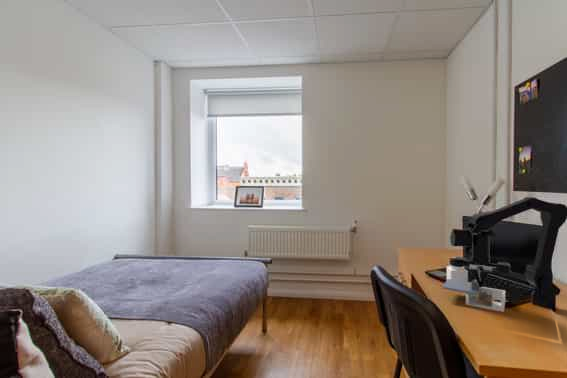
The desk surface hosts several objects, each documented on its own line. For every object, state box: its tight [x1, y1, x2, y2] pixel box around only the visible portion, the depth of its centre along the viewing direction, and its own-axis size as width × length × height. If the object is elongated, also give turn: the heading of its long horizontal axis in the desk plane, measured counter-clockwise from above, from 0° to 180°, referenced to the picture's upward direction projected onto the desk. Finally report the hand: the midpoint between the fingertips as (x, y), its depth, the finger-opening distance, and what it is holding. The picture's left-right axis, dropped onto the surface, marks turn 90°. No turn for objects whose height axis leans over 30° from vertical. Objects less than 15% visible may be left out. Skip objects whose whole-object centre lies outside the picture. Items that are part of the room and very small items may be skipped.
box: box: [465, 286, 506, 313], centre depth 124 cm, size 12×12×5 cm
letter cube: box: [479, 291, 492, 306], centre depth 123 cm, size 4×4×4 cm
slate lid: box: [441, 278, 480, 295], centre depth 128 cm, size 12×12×3 cm
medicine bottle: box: [446, 256, 469, 282], centre depth 148 cm, size 7×7×12 cm
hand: (480, 286), depth 124 cm, fingers closed
